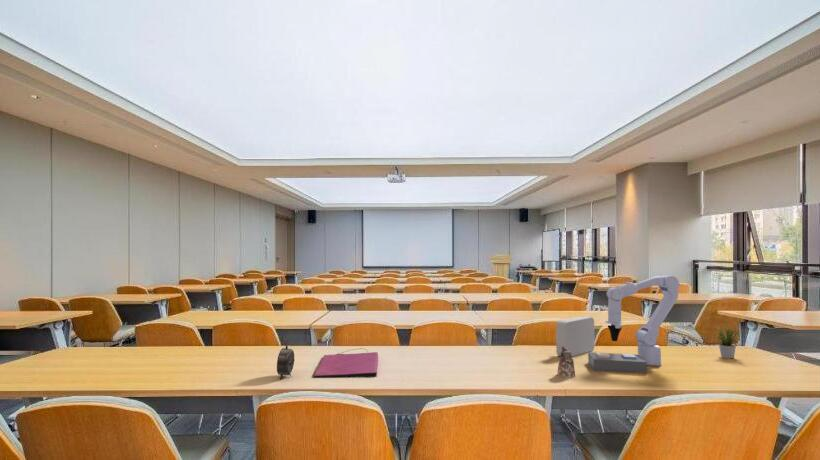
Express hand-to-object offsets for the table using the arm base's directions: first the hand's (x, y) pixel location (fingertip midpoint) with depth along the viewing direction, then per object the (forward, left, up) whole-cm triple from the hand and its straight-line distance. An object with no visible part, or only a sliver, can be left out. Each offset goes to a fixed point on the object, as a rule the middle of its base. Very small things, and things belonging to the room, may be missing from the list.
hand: (614, 340), depth 214 cm
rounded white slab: (+15, -16, -11) cm, 25 cm away
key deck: (+1, +10, -10) cm, 14 cm away
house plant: (-60, -24, -11) cm, 65 cm away
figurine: (+25, +28, -11) cm, 39 cm away
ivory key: (+7, +10, -9) cm, 15 cm away
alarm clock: (+142, +58, -11) cm, 154 cm away
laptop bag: (+123, +33, -11) cm, 128 cm away
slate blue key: (-4, +10, -9) cm, 14 cm away
